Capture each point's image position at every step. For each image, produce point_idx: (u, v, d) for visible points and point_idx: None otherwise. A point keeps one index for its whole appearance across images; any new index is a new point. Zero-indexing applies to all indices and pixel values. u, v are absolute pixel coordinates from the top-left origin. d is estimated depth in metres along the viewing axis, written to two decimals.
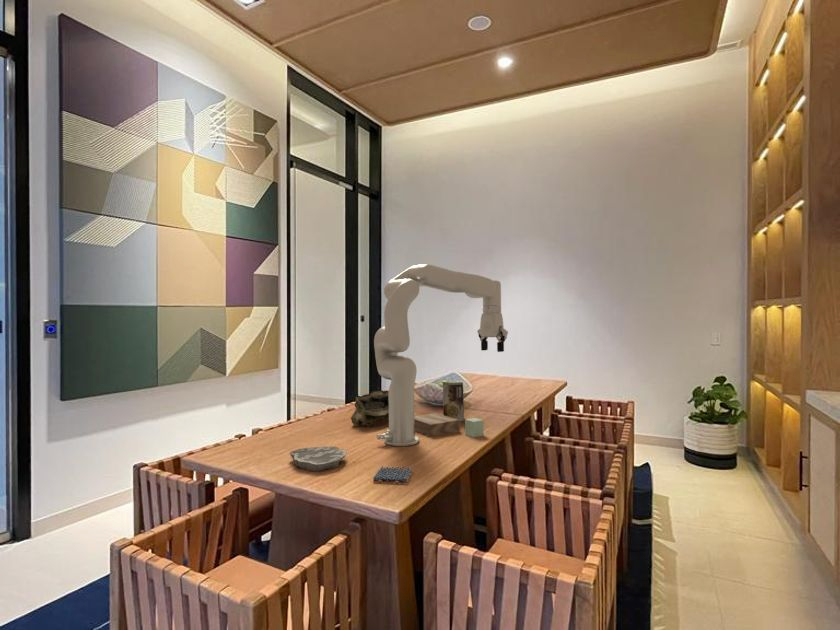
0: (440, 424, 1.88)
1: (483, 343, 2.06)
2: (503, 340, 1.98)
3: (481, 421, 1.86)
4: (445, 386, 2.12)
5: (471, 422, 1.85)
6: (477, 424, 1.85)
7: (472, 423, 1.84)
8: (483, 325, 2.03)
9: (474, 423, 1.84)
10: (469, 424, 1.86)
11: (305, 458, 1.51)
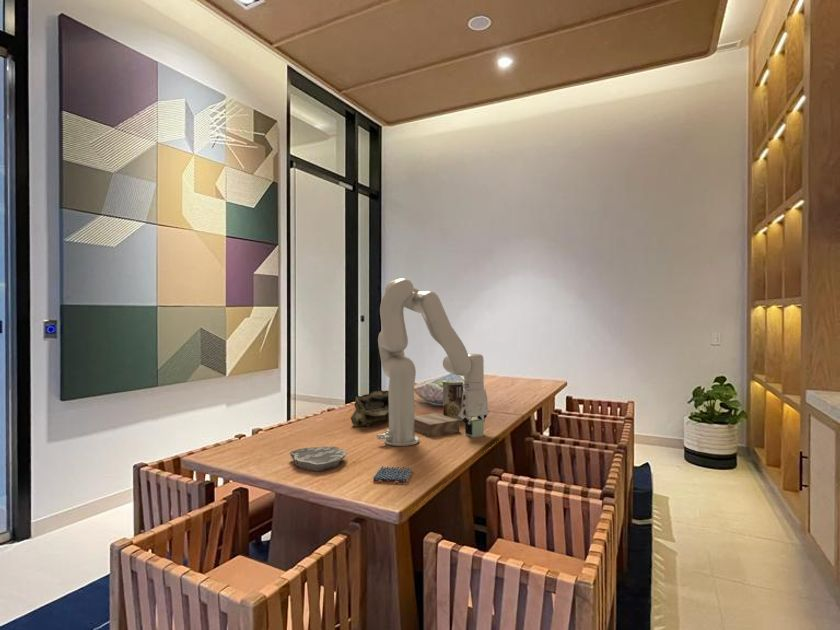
0: (440, 424, 1.88)
1: None
2: None
3: (481, 421, 1.86)
4: (445, 386, 2.12)
5: (471, 422, 1.85)
6: (477, 424, 1.85)
7: (472, 423, 1.84)
8: (474, 404, 1.84)
9: (474, 423, 1.84)
10: None
11: (305, 458, 1.51)
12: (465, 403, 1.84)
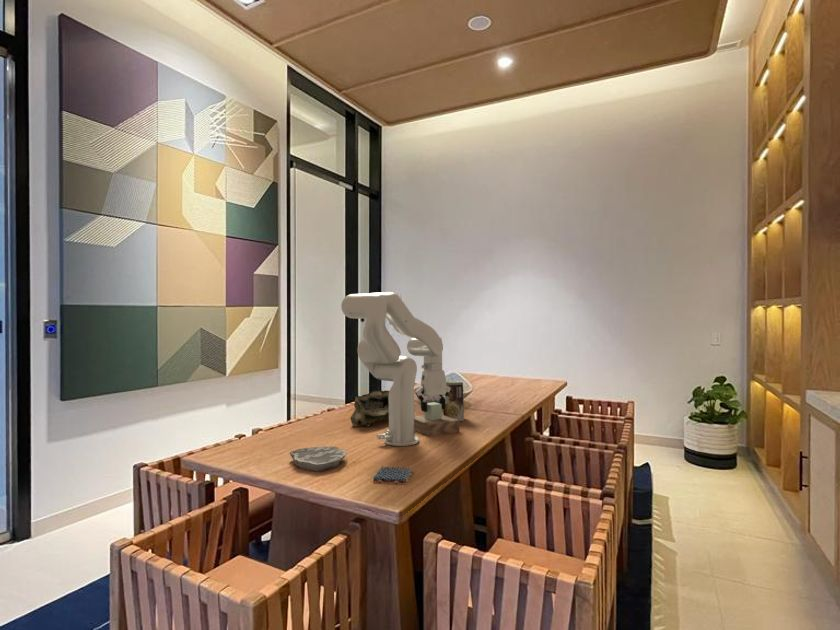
0: (439, 424, 1.88)
1: None
2: None
3: (439, 405, 1.95)
4: None
5: (429, 406, 1.94)
6: (435, 408, 1.94)
7: (430, 407, 1.93)
8: (432, 384, 1.92)
9: (432, 407, 1.93)
10: (428, 408, 1.95)
11: (305, 458, 1.51)
12: (424, 383, 1.93)
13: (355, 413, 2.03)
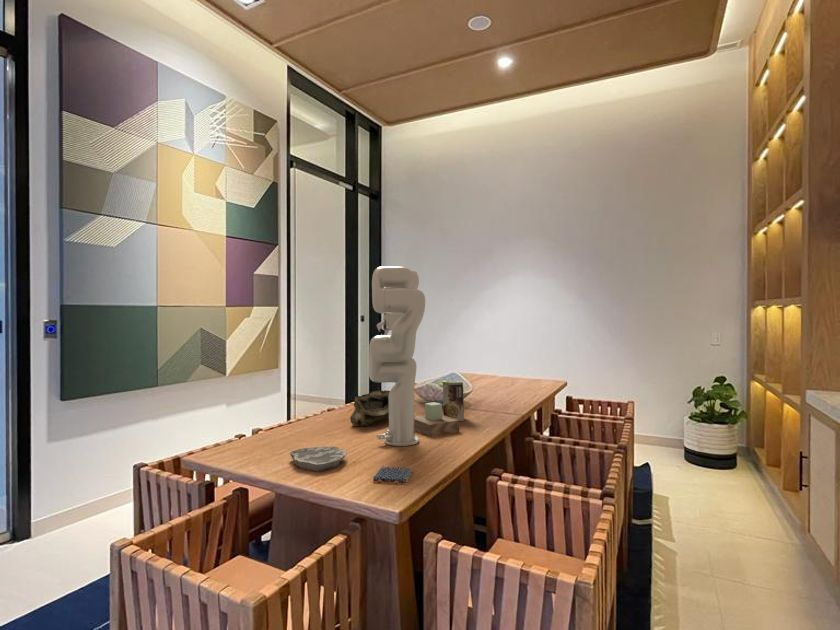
0: (440, 424, 1.88)
1: None
2: None
3: (439, 405, 1.95)
4: (445, 386, 2.12)
5: (430, 406, 1.94)
6: (435, 408, 1.94)
7: (431, 407, 1.93)
8: (393, 318, 2.01)
9: (432, 407, 1.93)
10: (428, 408, 1.95)
11: (305, 458, 1.51)
12: (385, 318, 2.01)
13: (355, 413, 2.03)
